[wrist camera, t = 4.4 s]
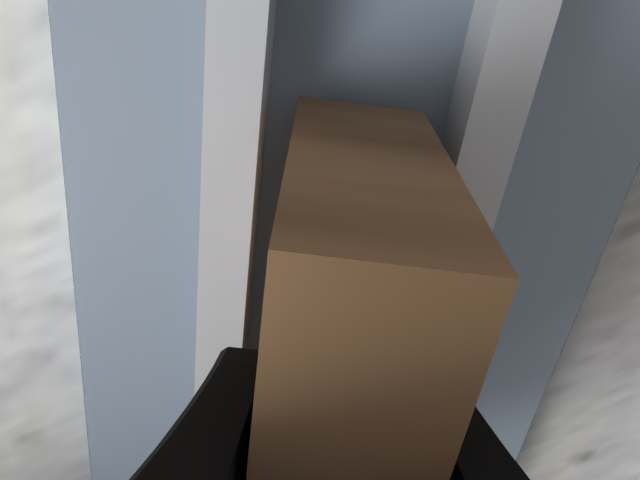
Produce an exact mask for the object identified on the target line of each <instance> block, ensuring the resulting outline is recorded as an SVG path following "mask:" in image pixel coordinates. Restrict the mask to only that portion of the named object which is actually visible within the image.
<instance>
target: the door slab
mask: <svg viewBox="0 0 640 480" xmlns="http://www.w3.org/2000/svg"><path fill="white" fill-rule="evenodd" d="M519 281H520V279H519V277H518V275H517V274H516V272H515V270H514V268H513V267H512V265H511V263H510V261H509V260H508V258H507V256H506V254H505V253H504V251H503V249H502V247H501V246H500V244H499V242H498V240H497V239H496V237H495V235H494V233H493V232H492V230H491V228H490V227H489V225H488V223H487V221H486V220H485V218H484V216H483V214H482V213H481V211H480V209H479V207H478V206H477V204H476V202H475V200H474V199H473V197H472V195H471V193H470V192H469V190H468V188H467V186H466V185H465V183H464V181H463V179H462V178H461V176H460V174H459V172H458V171H457V169H456V167H455V165H454V164H453V162H452V160H451V158H450V157H449V155H448V153H447V151H446V150H445V148H444V146H443V144H442V143H441V141H440V139H439V137H438V136H437V134H436V132H435V130H434V129H433V127H432V125H431V123H430V122H429V120H428V118H427V117H426V115H425V113H424V112H416V111H409V110H401V109H394V108H386V107H379V106H371V105H364V104H356V103H349V102H341V101H333V100H326V99H318V98H311V97H303V96H299V99H298V104H297V109H296V114H295V119H294V124H293V129H292V134H291V139H290V144H289V149H288V154H287V159H286V164H285V169H284V174H283V179H282V184H281V189H280V194H279V199H278V204H277V209H276V214H275V219H274V224H273V228H272V233H271V238H270V243H269V248H268V257H267V268H266V278H265V288H264V298H263V309H262V319H261V329H260V340H259V350H258V360H257V370H256V381H255V391H254V401H253V412H252V422H251V432H250V443H249V453H248V463H247V473H246V480H450V477H451V475H452V472H453V469H454V466H455V463H456V460H457V457H458V455H459V452H460V449H461V446H462V443H463V440H464V437H465V435H466V432H467V429H468V426H469V423H470V420H471V418H472V415H473V412H474V409H475V406H476V403H477V400H478V398H479V395H480V392H481V389H482V386H483V383H484V380H485V378H486V375H487V372H488V369H489V366H490V363H491V360H492V358H493V355H494V352H495V349H496V346H497V343H498V341H499V338H500V335H501V332H502V329H503V326H504V323H505V321H506V318H507V315H508V312H509V309H510V306H511V303H512V301H513V298H514V295H515V292H516V289H517V286H518V283H519Z"/></svg>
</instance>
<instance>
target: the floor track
mask: <svg viewBox="0 0 640 480" xmlns="http://www.w3.org/2000/svg"><path fill="white" fill-rule="evenodd" d="M48 10H49V21H50V31H51V42H52V53H53V64H54V75H55V86H56V97H57V108H58V119H59V130H60V141H61V152H62V162H63V173H64V184H65V195H66V206H67V217H68V228H69V239H70V250H71V261H72V272H73V282H74V293H75V304H76V315H77V326H78V337H79V348H80V359H81V370H82V381H83V392H84V403H85V413H86V424H87V435H88V446H89V457H90V468H91V479H92V480H129V479H130V478H131V477H132V475H133V474H134V473H135V472H136V471H137V469H138V468H139V467H140V466H141V465H142V464H143V462H144V461H145V460H146V459H147V458H148V456H149V455H150V454H151V453H152V452H153V450H154V449H155V448H156V447H157V445H158V444H159V443H160V442H161V440H162V439H163V438H164V436H165V435H166V434H167V432H168V431H169V430H170V428H171V427H172V426H173V424H174V423H175V422H176V420H177V419H178V418H179V416H180V415H181V414H182V412H183V411H184V410H185V408H186V407H187V406H188V404H189V403H190V401H191V400H192V398H193V397H194V395H195V394H196V392H197V391H198V389H199V388H200V386H201V385H202V383H203V382H204V380H205V379H206V377H207V375H208V374H209V372H210V370H211V369H212V367H213V365H214V363H215V362H216V360H217V358H218V356H219V354H220V352H221V351H222V350H224V349H225V348H227V347H236V348H245V349H254V350H259V340H260V329H261V319H262V309H263V298H264V288H265V278H266V268H267V257H268V248H269V243H270V238H271V233H272V228H273V224H274V219H275V214H276V209H277V204H278V199H279V194H280V189H281V184H282V179H283V174H284V169H285V164H286V159H287V154H288V149H289V144H290V139H291V134H292V129H293V124H294V119H295V114H296V109H297V104H298V99H299V96H303V97H311V98H318V99H326V100H333V101H341V102H349V103H356V104H364V105H371V106H379V107H386V108H394V109H401V110H409V111H416V112H424V113H425V115H426V117H427V118H428V120H429V122H430V123H431V125H432V127H433V129H434V130H435V132H436V134H437V136H438V137H439V139H440V141H441V143H442V144H443V146H444V148H445V150H446V151H447V153H448V155H449V157H450V158H451V160H452V162H453V164H454V165H455V167H456V169H457V171H458V172H459V174H460V176H461V178H462V179H463V181H464V183H465V185H466V186H467V188H468V190H469V192H470V193H471V195H472V197H473V199H474V200H475V202H476V204H477V206H478V207H479V209H480V211H481V213H482V214H483V216H484V218H485V220H486V221H487V223H488V225H489V227H490V228H491V230H492V232H493V233H494V235H495V237H496V239H497V240H498V242H499V244H500V246H501V247H502V249H503V251H504V253H505V254H506V256H507V258H508V260H509V261H510V263H511V265H512V267H513V268H514V270H515V272H516V274H517V275H518V277H519V279H520V281H519V283H518V286H517V289H516V292H515V295H514V298H513V301H512V303H511V306H510V309H509V312H508V315H507V318H506V321H505V323H504V326H503V329H502V332H501V335H500V338H499V341H498V343H497V346H496V349H495V352H494V355H493V358H492V360H491V363H490V366H489V369H488V372H487V375H486V378H485V380H484V383H483V386H482V389H481V392H480V395H479V398H478V400H477V403H476V407H477V409H478V410H479V412H480V413H481V415H482V416H483V417H484V419H485V420H486V421H487V423H488V424H489V426H490V427H491V428H492V430H493V431H494V433H495V434H496V435H497V437H498V438H499V439H500V441H501V442H502V444H503V445H504V446H505V448H506V449H507V450H508V452H509V453H510V454H511V456H512V457H513V458H514V459H515V461H516V459H517V457H518V454H519V452H520V450H521V447H522V445H523V442H524V440H525V438H526V435H527V433H528V430H529V428H530V426H531V423H532V421H533V418H534V416H535V414H536V411H537V409H538V406H539V404H540V402H541V399H542V397H543V394H544V392H545V390H546V387H547V385H548V382H549V380H550V378H551V375H552V373H553V371H554V368H555V366H556V363H557V361H558V359H559V356H560V354H561V351H562V349H563V347H564V344H565V342H566V339H567V337H568V335H569V332H570V330H571V327H572V325H573V323H574V320H575V318H576V315H577V313H578V311H579V308H580V306H581V303H582V301H583V299H584V296H585V294H586V291H587V289H588V287H589V284H590V282H591V279H592V277H593V275H594V272H595V270H596V267H597V265H598V263H599V260H600V258H601V256H602V253H603V251H604V248H605V246H606V244H607V241H608V239H609V236H610V234H611V232H612V229H613V227H614V224H615V222H616V220H617V217H618V215H619V212H620V210H621V208H622V205H623V203H624V200H625V198H626V196H627V193H628V191H629V188H630V186H631V184H632V181H633V179H634V176H635V174H636V172H637V169H638V167H639V164H640V0H48Z"/></svg>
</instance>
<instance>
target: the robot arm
mask: <svg viewBox="0 0 640 480" xmlns="http://www.w3.org/2000/svg"><path fill="white" fill-rule="evenodd" d="M257 360H258V350H254V349H245V348H236V347H227V348H225V349H224V350H222V351H221V352H220V354H219V356H218V358H217V360H216V362H215V363H214V365H213V367H212V369H211V370H210V372H209V374H208V375H207V377H206V379H205V380H204V382H203V383H202V385H201V386H200V388H199V389H198V391H197V392H196V394H195V395H194V397H193V398H192V400H191V401H190V403H189V404H188V406H187V407H186V408H185V410H184V411H183V412H182V414H181V415H180V416H179V418H178V419H177V420H176V422H175V423H174V424H173V426H172V427H171V428H170V430H169V431H168V432H167V434H166V435H165V436H164V438H163V439H162V440H161V442H160V443H159V444H158V445H157V447H156V448H155V449H154V450H153V452H152V453H151V454H150V455H149V456H148V458H147V459H146V460H145V461H144V462H143V464H142V465H141V466H140V467H139V468H138V469H137V471H136V472H135V473H134V474H133V475H132V477H131V478H130V479H129V480H246V473H247V463H248V453H249V443H250V432H251V422H252V412H253V401H254V391H255V381H256V370H257ZM450 480H530V479H529V478H528V476H527V475H526V474H525V472H524V471H523V470H522V469H521V467H520V466H519V465H518V463H517V462H516V461H515V459H514V458H513V457H512V456H511V454H510V453H509V452H508V450H507V449H506V448H505V446H504V445H503V444H502V442H501V441H500V439H499V438H498V437H497V435H496V434H495V433H494V431H493V430H492V428H491V427H490V426H489V424H488V423H487V421H486V420H485V419H484V417H483V416H482V415H481V413H480V412H479V410H478V409H477V407H476V406H475V409H474V412H473V415H472V418H471V420H470V423H469V426H468V429H467V432H466V435H465V437H464V440H463V443H462V446H461V449H460V452H459V455H458V457H457V460H456V463H455V466H454V469H453V472H452V475H451V477H450Z"/></svg>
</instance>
